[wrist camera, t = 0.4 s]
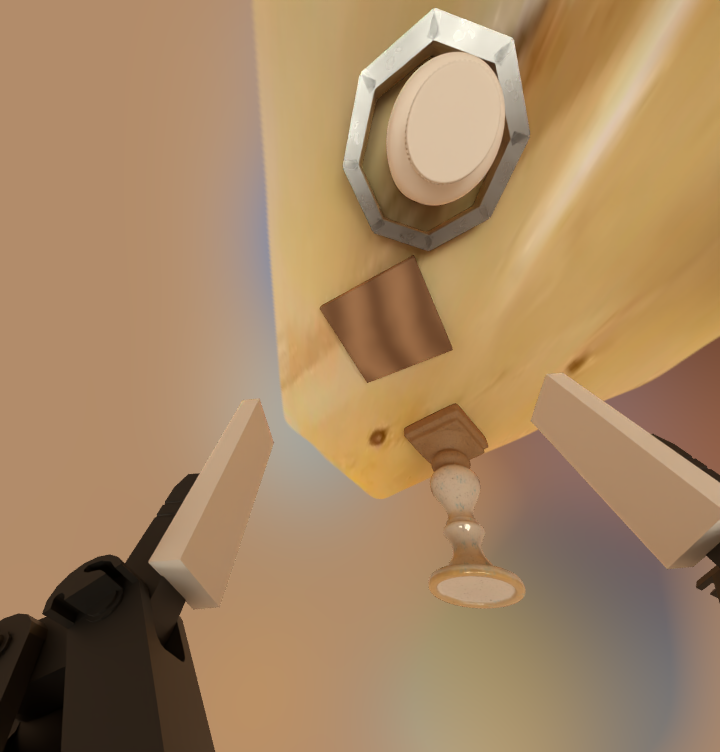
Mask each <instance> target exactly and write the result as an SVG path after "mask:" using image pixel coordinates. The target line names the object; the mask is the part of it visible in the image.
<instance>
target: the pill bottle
mask: <svg viewBox="0 0 720 752" xmlns="http://www.w3.org/2000/svg"><path fill="white" fill-rule="evenodd" d="M504 124H505V103H504V96H503V92H502V88H501V85H500V83H499V81H498V78H497V77H496V75H495V73H494V72H493V70H492V69H491V68H490V67H489V65H488V64H487V63H485V62H484V61H483V60H482V59H480V58H479V57H477V56H475V55H472V54H469V53H465V52H450V53H445V54H442V55H439V56H437V57H434V58H433V59H431V60H429V61H428V62H426V63H425V64H423V65H422V66H421V67H420V68H419V69H417V70H416V71H415V72H414V73H413V75H412V76H411V77H410V78H409V79H408V81H407V82H406V83H405V85H404V86H403V88H402V90H401V91H400V93H399V95H398V97H397V99H396V101H395V104H394V106H393V109H392V112H391V115H390V119H389V124H388V129H387V140H386V148H387V158H388V163H389V168H390V172H391V175H392V178H393V181H394V183H395V185H396V186H397V188H398V189H399V190H400V192H401V193H402V194H404V195H405V196H406V197H408V198H409V199H411V200H414V201H416V202H418V203H421V204H425V205H444V204H448V203H451V202H453V201H456V200H458V199H459V198H461V197H463V196H464V195H466V194H467V193H469V192H470V191H471V190H472V189H473V188H474V187H475V186H476V185H477V184H478V183H479V182H480V181H481V180H482V179H483V177H484V176H485V175H486V173H487V172H488V170H489V169H490V167H491V165H492V163H493V161H494V159H495V157H496V155H497V152H498V150H499V147H500V144H501V140H502V136H503V131H504Z"/></svg>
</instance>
